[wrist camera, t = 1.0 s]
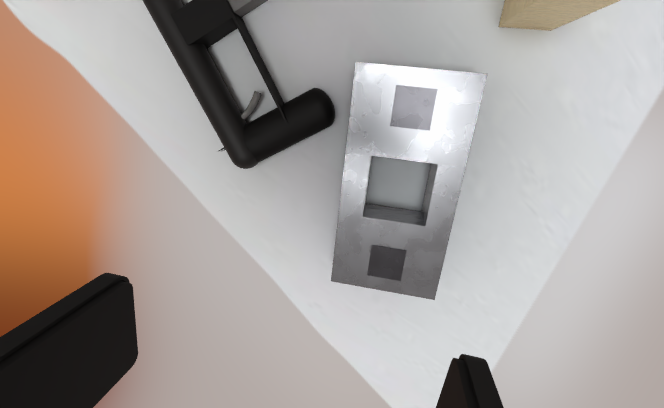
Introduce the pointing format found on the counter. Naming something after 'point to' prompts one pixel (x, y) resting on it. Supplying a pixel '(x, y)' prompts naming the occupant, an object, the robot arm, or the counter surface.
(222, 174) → the counter surface
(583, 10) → the brass peg
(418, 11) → the counter surface
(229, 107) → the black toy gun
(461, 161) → the grey peg hole block
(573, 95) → the counter surface
